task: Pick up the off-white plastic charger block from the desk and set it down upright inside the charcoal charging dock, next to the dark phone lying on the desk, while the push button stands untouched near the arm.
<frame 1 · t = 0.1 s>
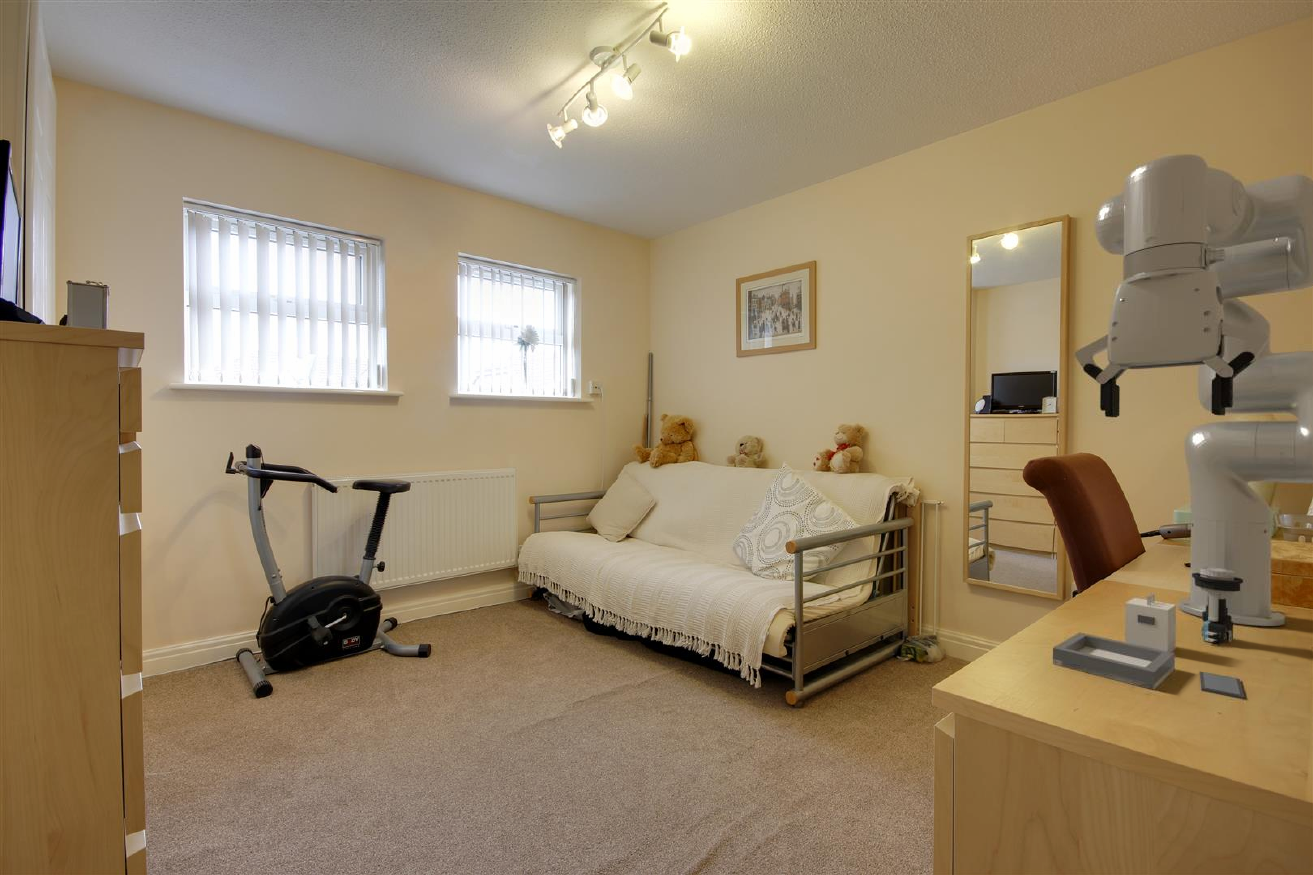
hand: (1162, 415, 70), 31 cm above the table, tool pointing down, fingers open, 9 cm apart
phone: (1221, 690, 70), on the table
dock: (1113, 666, 75), on the table
charger: (1150, 647, 82), on the table
push button: (1215, 642, 85), on the table
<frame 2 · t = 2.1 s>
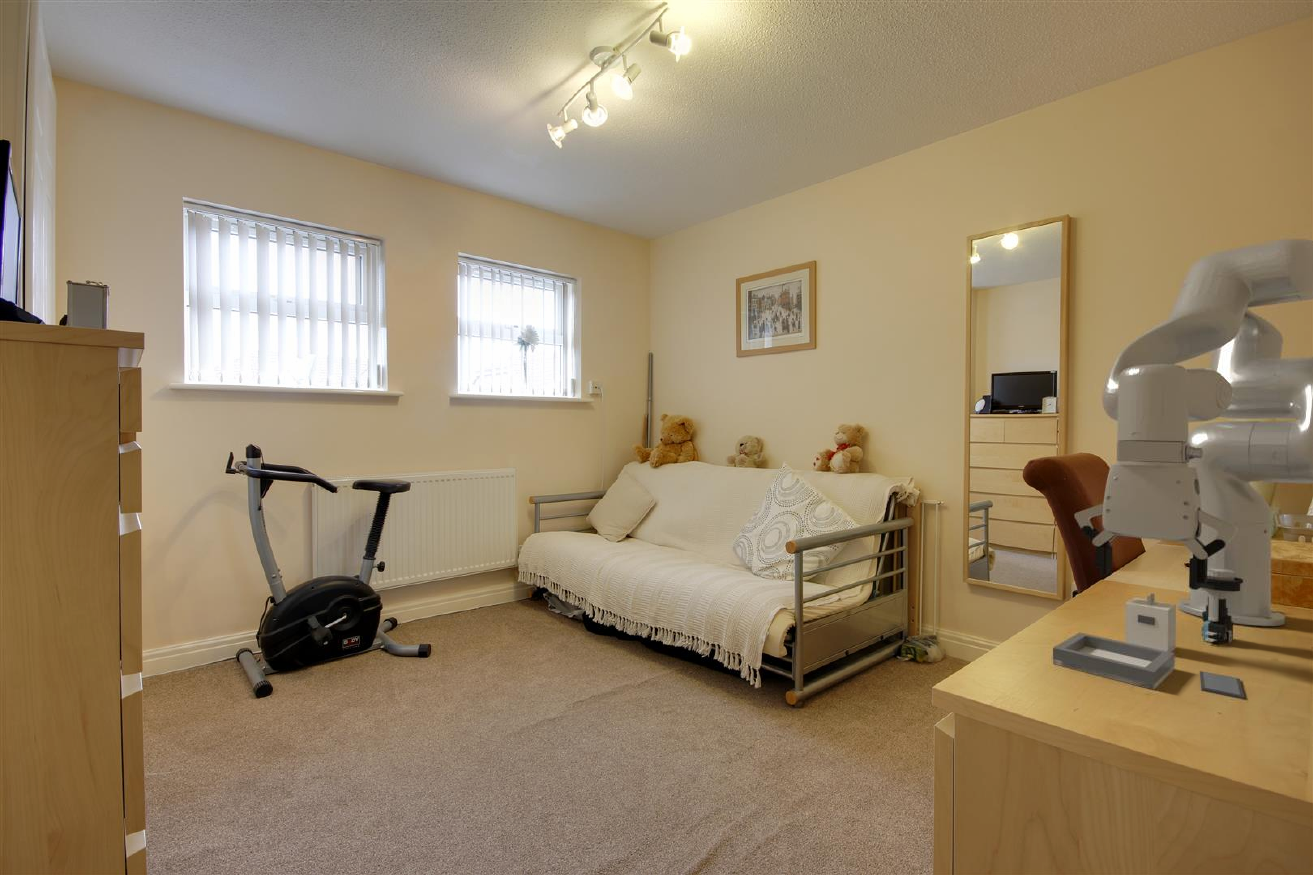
hand: (1148, 580, 82), 9 cm above the table, tool pointing down, fingers open, 9 cm apart
nothing on the table moved.
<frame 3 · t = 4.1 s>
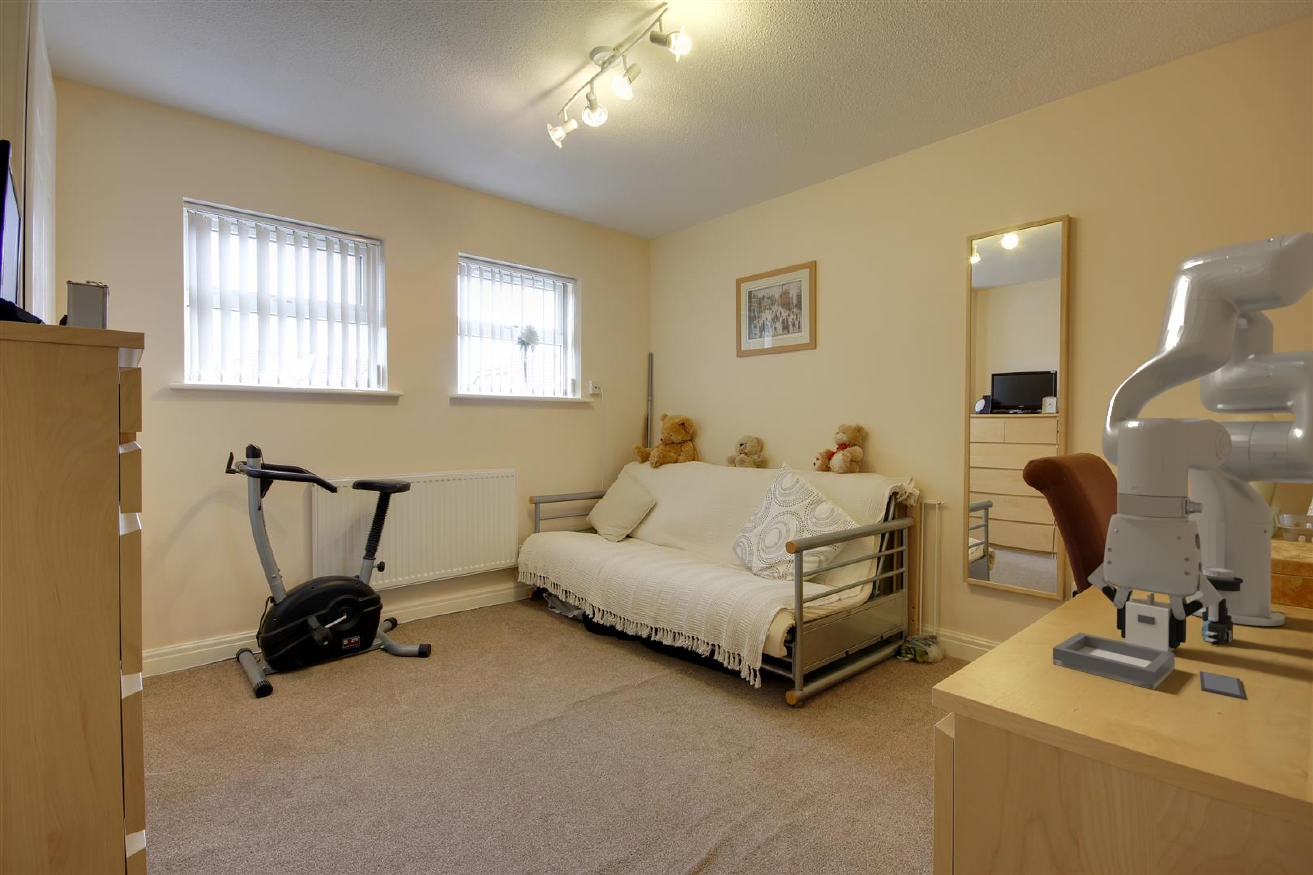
hand: (1150, 639, 82), 1 cm above the table, tool pointing down, fingers closed on charger, 4 cm apart
charger: (1150, 647, 82), on the table, touching gripper
everything else where it was.
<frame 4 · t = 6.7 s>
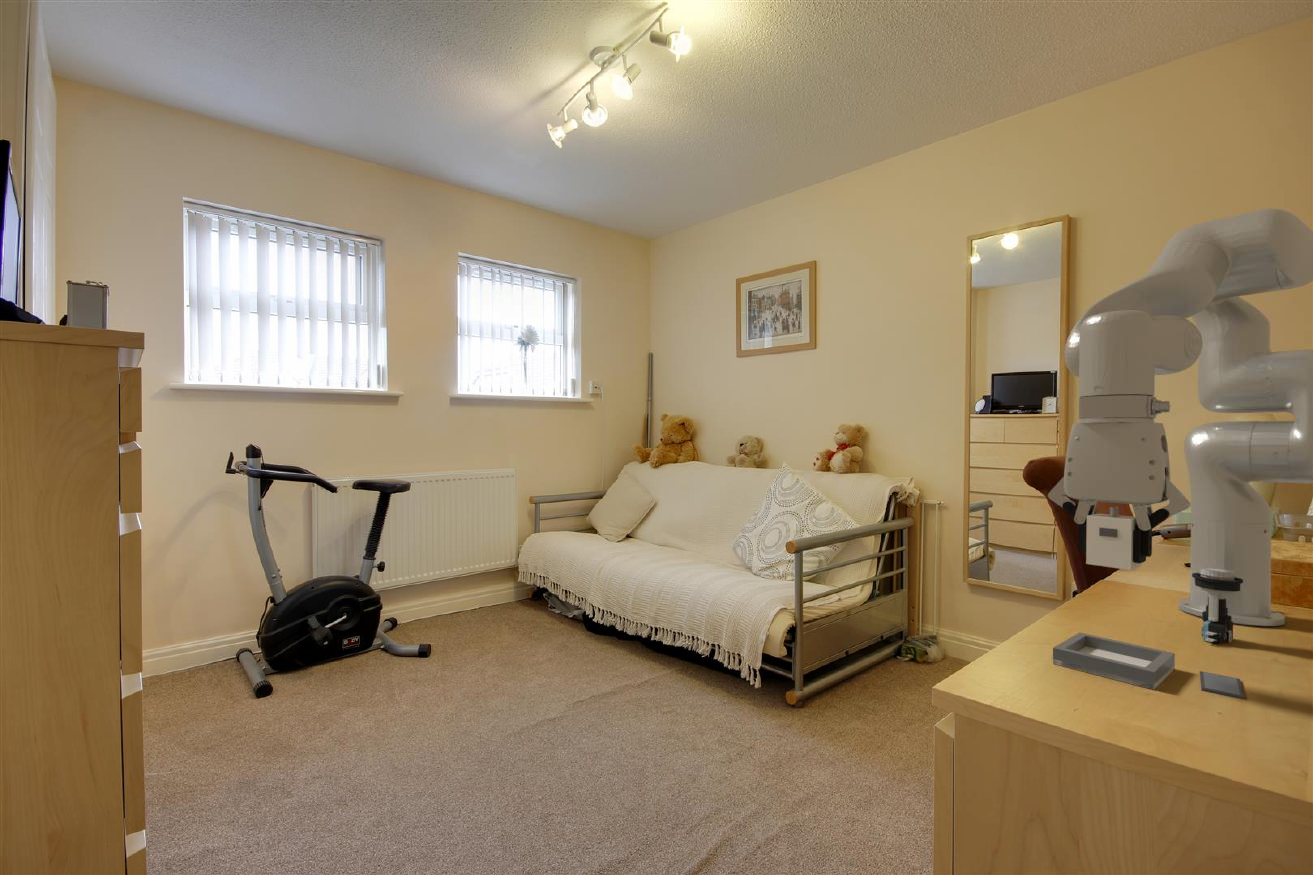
hand: (1113, 556, 75), 14 cm above the table, tool pointing down, fingers closed on charger, 4 cm apart
charger: (1113, 564, 75), point 13 cm above the table, touching gripper
everything else where it was.
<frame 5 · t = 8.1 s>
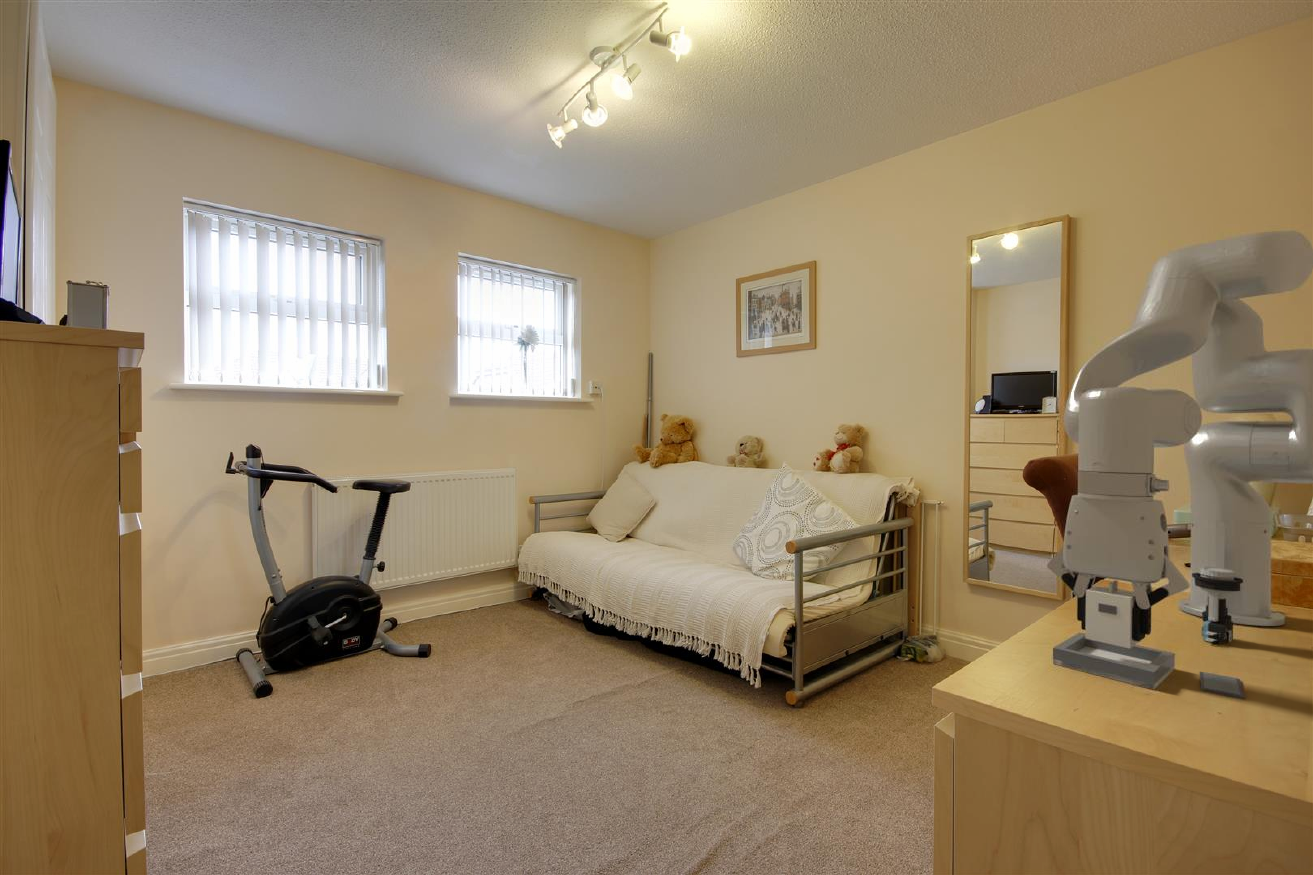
hand: (1112, 631, 75), 4 cm above the table, tool pointing down, fingers closed on charger, 4 cm apart
charger: (1112, 639, 75), point 3 cm above the table, touching gripper
everything else where it was.
when the fingers open (2 cm above the table, at t = 9.3 s): charger stays where it is, resting on dock.
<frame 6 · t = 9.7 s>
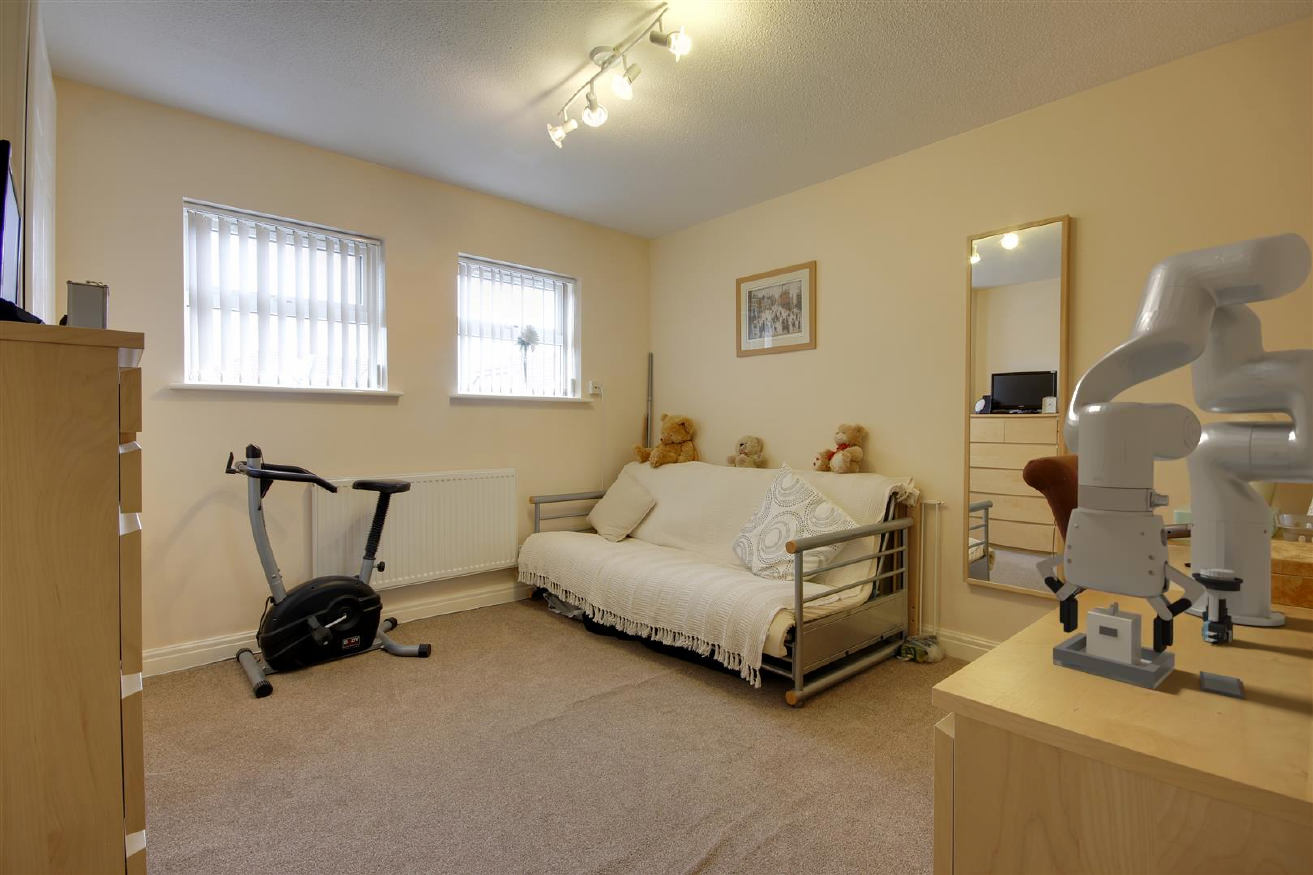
hand: (1113, 639, 75), 3 cm above the table, tool pointing down, fingers open, 8 cm apart
charger: (1113, 661, 75), point 1 cm above the table, touching dock
everything else where it was.
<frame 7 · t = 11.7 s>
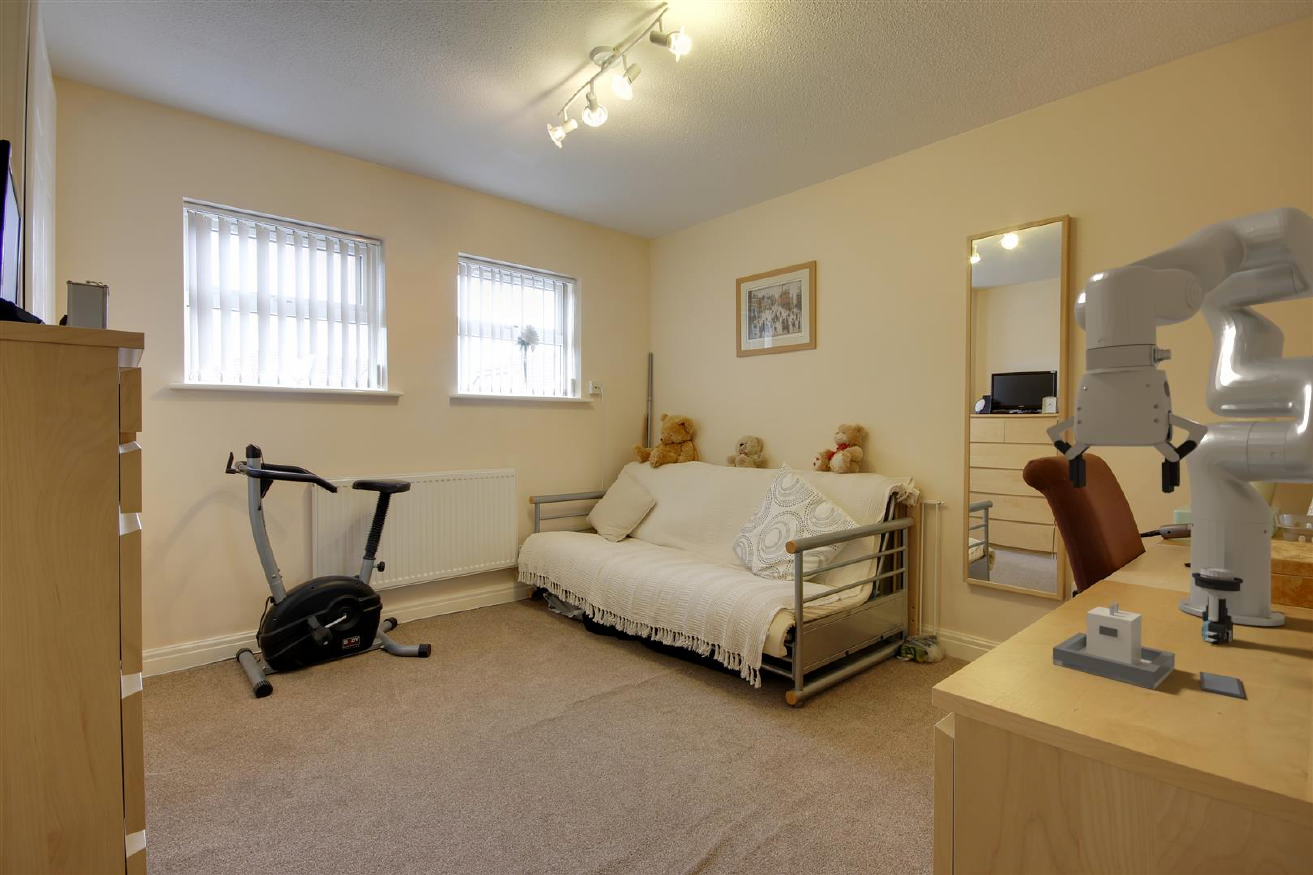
hand: (1122, 489, 81), 22 cm above the table, tool pointing down, fingers open, 9 cm apart
nothing on the table moved.
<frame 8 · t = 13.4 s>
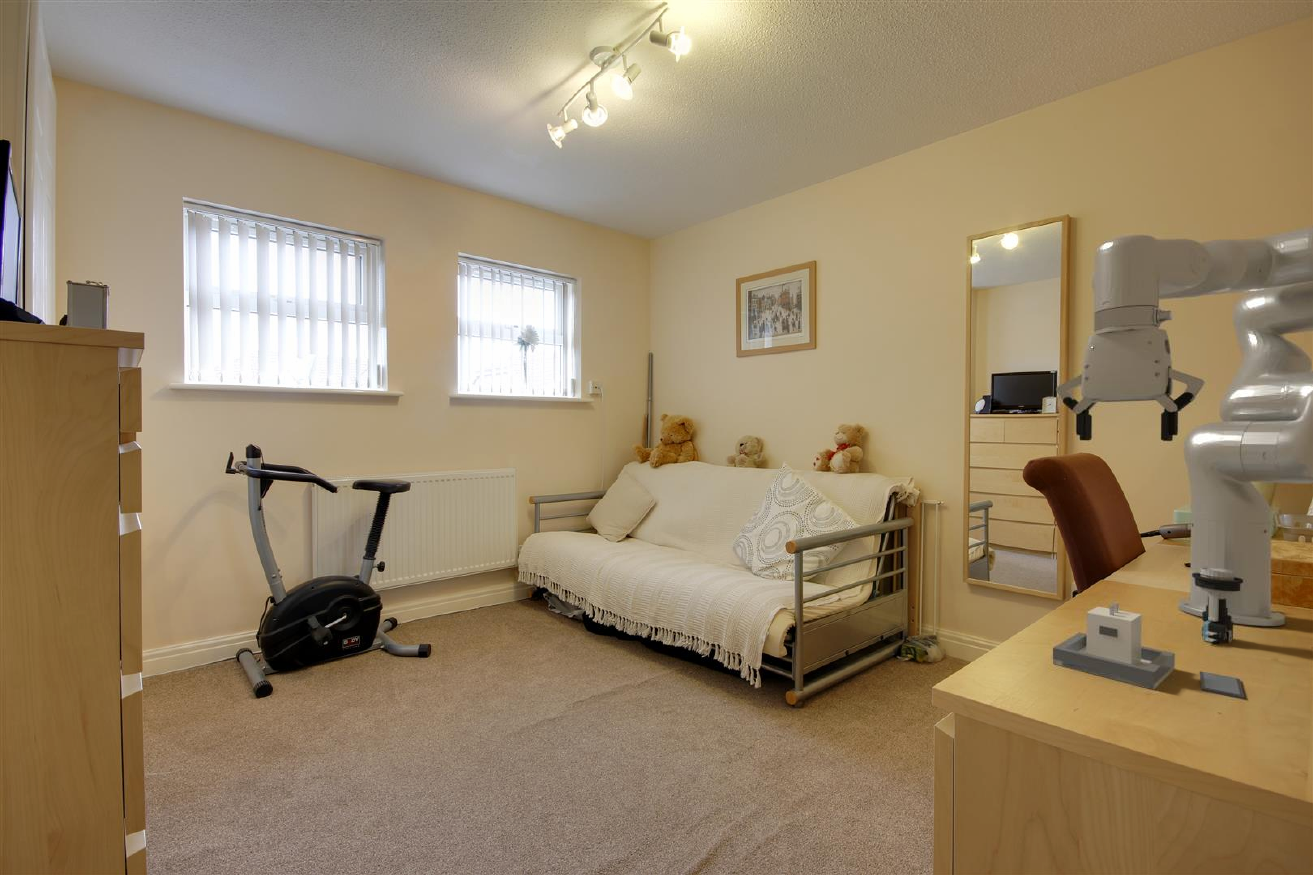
hand: (1124, 440, 88), 28 cm above the table, tool pointing down, fingers open, 9 cm apart
nothing on the table moved.
at the end: charger 0.0 cm off-centre on the dock, point 0.6 cm above the dock's base; charger tilted 0°; the gripper is holding nothing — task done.
